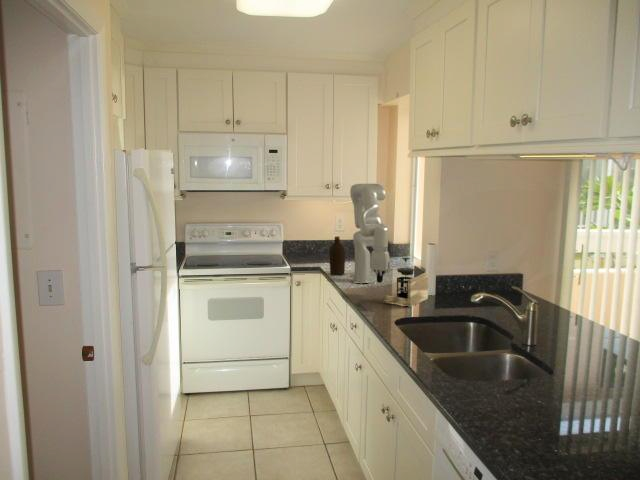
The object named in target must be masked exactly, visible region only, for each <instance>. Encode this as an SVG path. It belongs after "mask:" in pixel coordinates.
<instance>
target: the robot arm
mask: <svg viewBox="0 0 640 480" xmlns="http://www.w3.org/2000/svg"><path fill="white" fill-rule="evenodd" d="M349 194H350V199H351V203H352V205H353V212H354V213H353V214H354V226H355V228H357V229H360V230H359V231H356V232H354V233H353V235H352V237H353V238H352V239H353V248H354V273H350V275H349V277H350V278H352V280H351V282H352V281H353V282H358V283H367V282H372V281H373V279H372V278H371V271H373V272H374V273H375V275H376V283H382V282H383V281H384V275H385V274H388V273H390V269H391V267H390V265H391V262H390V261H391V260H390V253H389V251H388V249H389V248H388V247H389V246H388V245H389V244H388V243H389V228H388V226H387V225H385V223H382V219H381V215H380V214H379V213H378V212H379V210H380V207H379V205H380V204H379V202H378V201H385V199H386V197H387V195H386V194H387V193H386V189H385V187H384V186H383V185H381V184H379V183H354V184H352V185H351V187H350V192H349ZM367 247H371V249H373V250H372V251H371V252H370V251H369V249H368V248H367ZM353 282H352V283H353ZM373 282H374V281H373ZM373 282H372V283H373Z"/></svg>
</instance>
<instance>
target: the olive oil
mask: <svg viewBox="0 0 640 480" xmlns="http://www.w3.org/2000/svg"><path fill="white" fill-rule="evenodd" d="M340 238H341V237H340V236H334V243H332V245H331V246H330V247H329V253H328V255H329V272H330V273H329V274H330V275H331V276H335V275H339V276H343V274H344V275H345V266H346V248H345V247H344V245H343V244H342V243H341V242H340V241H341V240H340Z"/></svg>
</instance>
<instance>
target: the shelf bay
mask: <svg viewBox="0 0 640 480" xmlns="http://www.w3.org/2000/svg"><path fill="white" fill-rule="evenodd" d="M411 278H412V279H409V280H408V279H407V281H408V299H406V298H400V297H397V296H394V295H393V296H392V295H387V294H384V295H383V302H384V301H388V302H393V303H398V304H403V305H408V306H412V305H414V304H417V303H419V302H420V303H422V302H424V301H426V300H428V298H429V272H424V273H421V274H419V275H417V276H415V277H411ZM404 293H407V292H404ZM420 303H419V304H420ZM417 305H418V304H417Z"/></svg>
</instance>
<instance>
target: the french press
mask: <svg viewBox="0 0 640 480" xmlns="http://www.w3.org/2000/svg"><path fill="white" fill-rule="evenodd" d="M401 260H404V262H405V265H404V267H398V268H396V270H397V273H400V274H401V275H402V276H399V277H396V297H400V298H406V299H408V280H409V279H412V278H413V277H411V275H414V272H415V269H414V268H410V267H407V260H411V259H410V258H409V257H401ZM399 283H400V287H399ZM404 292H407V293H404Z"/></svg>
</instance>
